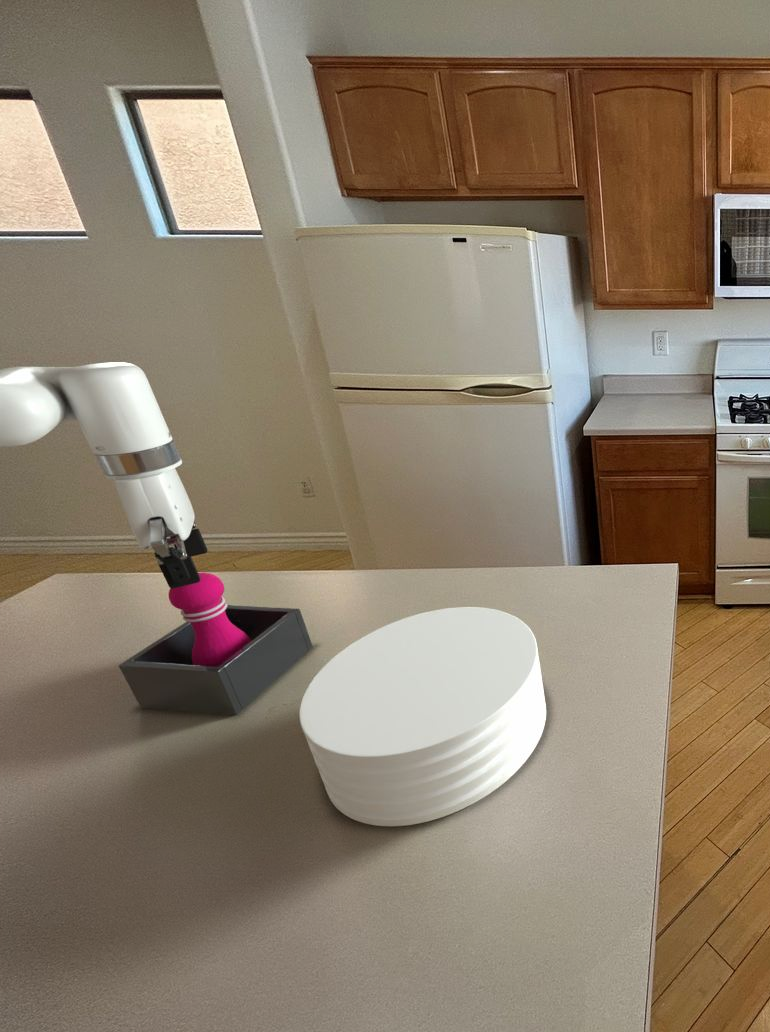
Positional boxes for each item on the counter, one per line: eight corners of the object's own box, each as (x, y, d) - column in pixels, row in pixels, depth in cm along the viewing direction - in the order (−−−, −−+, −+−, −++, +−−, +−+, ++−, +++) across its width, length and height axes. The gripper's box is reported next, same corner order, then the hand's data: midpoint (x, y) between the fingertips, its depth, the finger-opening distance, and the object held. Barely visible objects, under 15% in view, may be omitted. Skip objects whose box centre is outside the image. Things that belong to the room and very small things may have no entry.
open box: (140, 708, 81) (117, 665, 78) (230, 642, 95) (214, 603, 92) (236, 714, 80) (217, 672, 77) (313, 647, 94) (299, 608, 91)
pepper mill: (203, 699, 83) (150, 587, 75) (203, 673, 88) (153, 566, 80) (263, 677, 87) (220, 569, 79) (260, 654, 92) (218, 550, 84)
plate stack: (273, 779, 71) (244, 712, 66) (446, 647, 95) (433, 591, 90) (438, 863, 61) (417, 791, 57) (584, 693, 85) (577, 633, 81)
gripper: (115, 446, 77) (164, 552, 84) (82, 486, 65) (143, 607, 72) (186, 436, 81) (228, 538, 88) (168, 472, 69) (218, 588, 76)
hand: (190, 569), depth 80 cm, fingers open, 9 cm apart
